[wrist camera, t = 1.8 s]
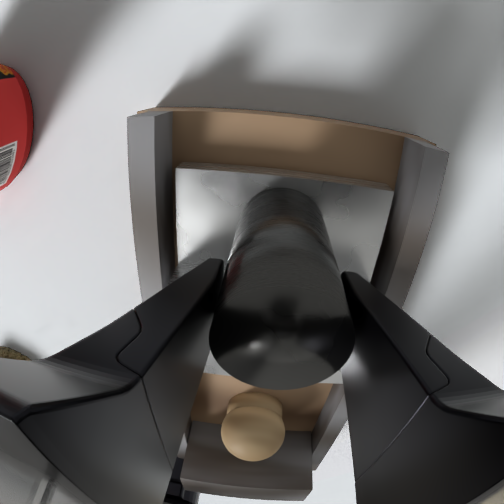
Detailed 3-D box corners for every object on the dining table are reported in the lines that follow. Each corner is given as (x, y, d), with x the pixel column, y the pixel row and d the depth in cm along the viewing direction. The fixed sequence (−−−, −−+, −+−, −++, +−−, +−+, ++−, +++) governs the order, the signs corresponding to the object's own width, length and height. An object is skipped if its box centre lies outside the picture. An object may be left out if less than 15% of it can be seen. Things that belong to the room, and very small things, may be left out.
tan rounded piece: (280, 423, 21) (279, 471, 17) (224, 418, 21) (217, 466, 17) (289, 392, 19) (289, 447, 15) (225, 386, 19) (216, 441, 15)
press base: (319, 431, 24) (322, 501, 18) (181, 418, 25) (164, 487, 19) (417, 135, 13) (508, 182, 7) (154, 107, 13) (64, 132, 7)
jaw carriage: (349, 320, 15) (374, 446, 9) (186, 305, 15) (143, 427, 9) (386, 183, 12) (474, 284, 6) (182, 162, 12) (92, 247, 6)
